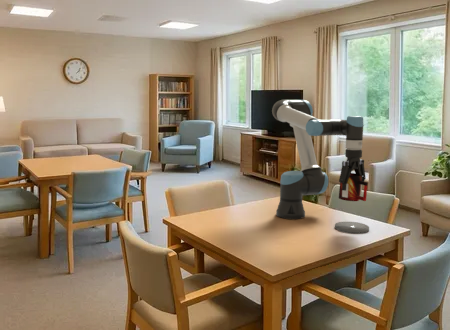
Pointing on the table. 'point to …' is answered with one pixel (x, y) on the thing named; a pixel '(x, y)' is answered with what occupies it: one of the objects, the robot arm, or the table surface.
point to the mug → (354, 188)
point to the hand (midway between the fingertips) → (351, 195)
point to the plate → (352, 227)
